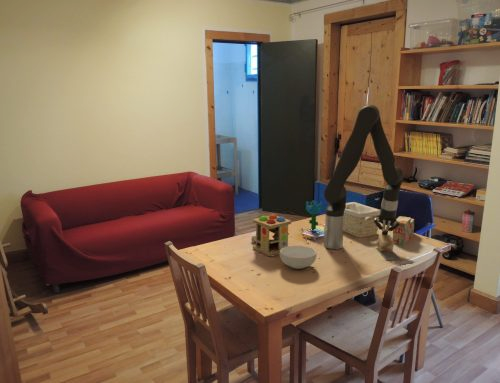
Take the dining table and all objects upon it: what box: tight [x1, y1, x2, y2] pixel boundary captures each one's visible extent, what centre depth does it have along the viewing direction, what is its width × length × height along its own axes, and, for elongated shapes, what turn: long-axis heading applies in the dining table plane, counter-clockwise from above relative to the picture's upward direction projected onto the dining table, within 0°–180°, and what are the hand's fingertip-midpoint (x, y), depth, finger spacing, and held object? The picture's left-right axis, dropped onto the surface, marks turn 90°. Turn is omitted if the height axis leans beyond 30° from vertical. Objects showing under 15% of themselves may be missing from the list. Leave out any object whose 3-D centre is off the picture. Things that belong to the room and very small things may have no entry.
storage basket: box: [343, 201, 381, 238], centre depth 241 cm, size 24×16×15 cm
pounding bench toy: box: [250, 213, 292, 257], centre depth 215 cm, size 23×14×18 cm, turn 36°
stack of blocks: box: [392, 215, 415, 246], centre depth 227 cm, size 21×6×12 cm, turn 146°
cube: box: [376, 234, 395, 252], centre depth 209 cm, size 6×6×6 cm
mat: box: [375, 247, 403, 262], centre depth 206 cm, size 7×17×1 cm, turn 1°
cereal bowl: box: [279, 245, 317, 270], centre depth 192 cm, size 17×17×7 cm
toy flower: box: [305, 199, 323, 230], centre depth 239 cm, size 9×9×18 cm
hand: (384, 236), depth 212 cm, fingers closed
